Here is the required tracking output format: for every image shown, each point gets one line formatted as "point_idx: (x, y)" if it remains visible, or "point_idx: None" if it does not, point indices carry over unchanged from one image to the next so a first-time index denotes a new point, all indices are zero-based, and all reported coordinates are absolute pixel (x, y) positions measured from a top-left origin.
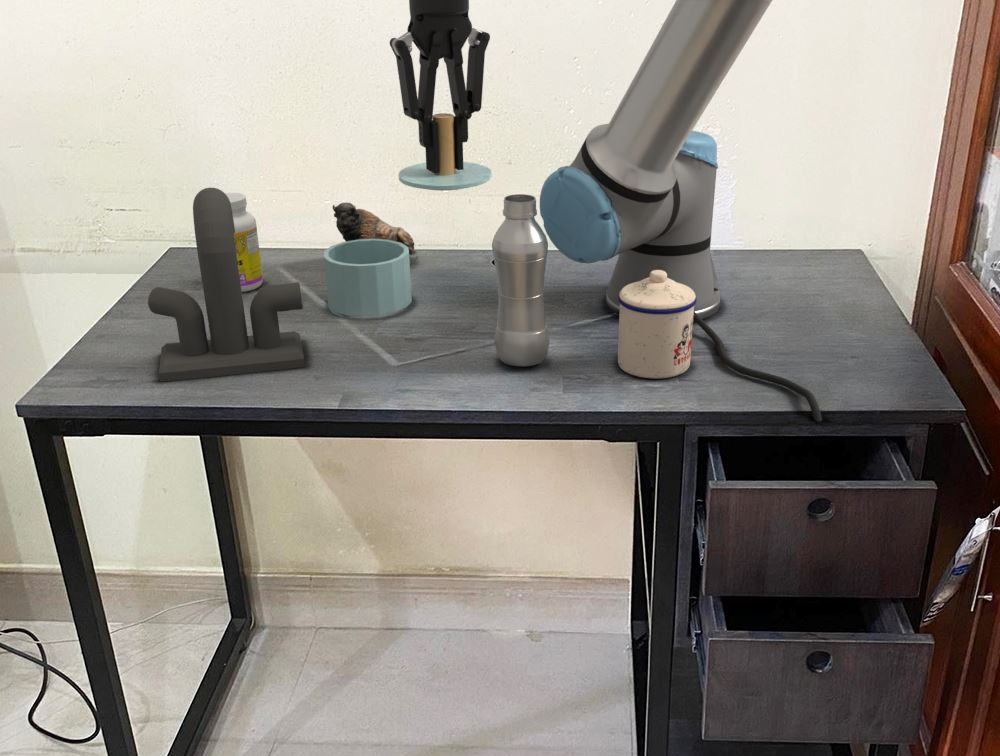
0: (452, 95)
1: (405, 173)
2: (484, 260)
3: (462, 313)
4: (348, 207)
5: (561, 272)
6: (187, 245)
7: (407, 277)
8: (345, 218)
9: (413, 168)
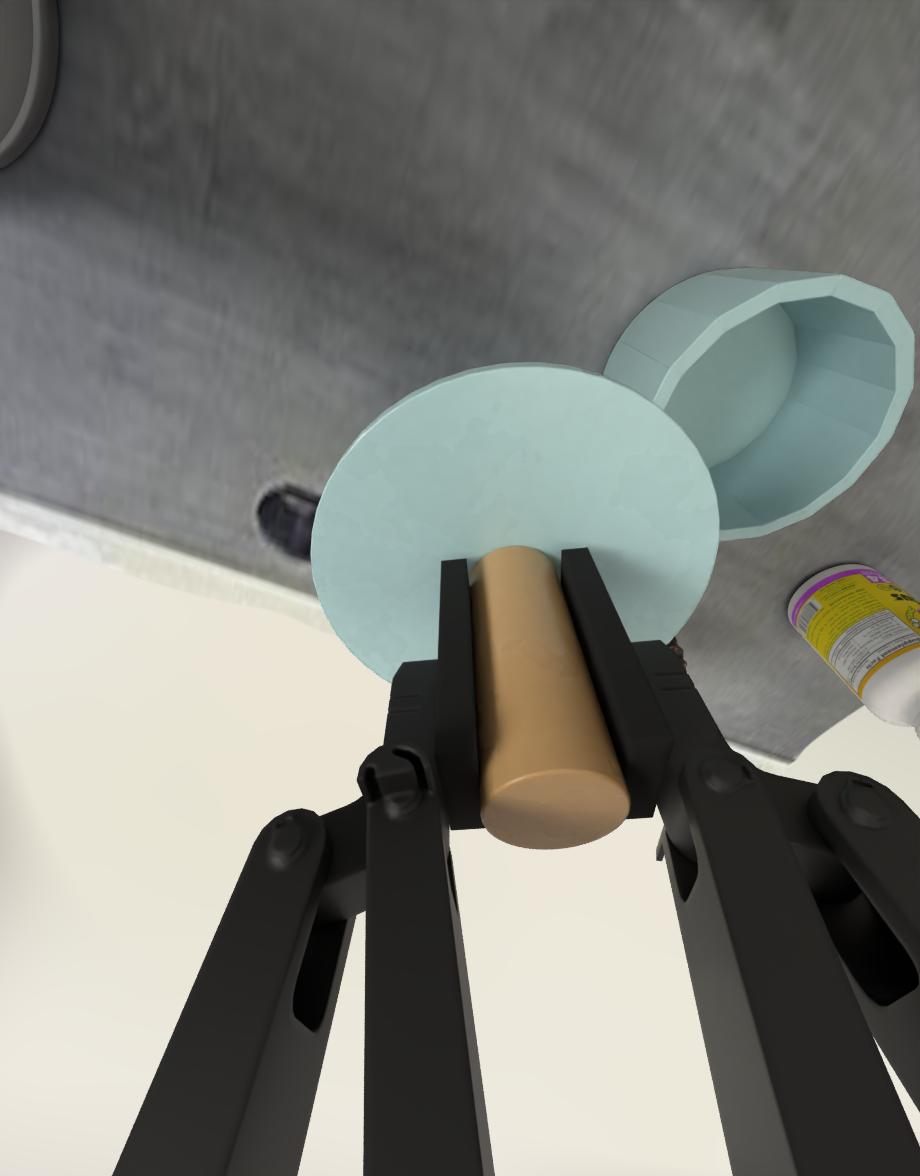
0: (466, 985)
1: (656, 624)
2: None
3: (528, 203)
4: None
5: (191, 414)
6: (766, 764)
7: (663, 332)
8: None
9: None
